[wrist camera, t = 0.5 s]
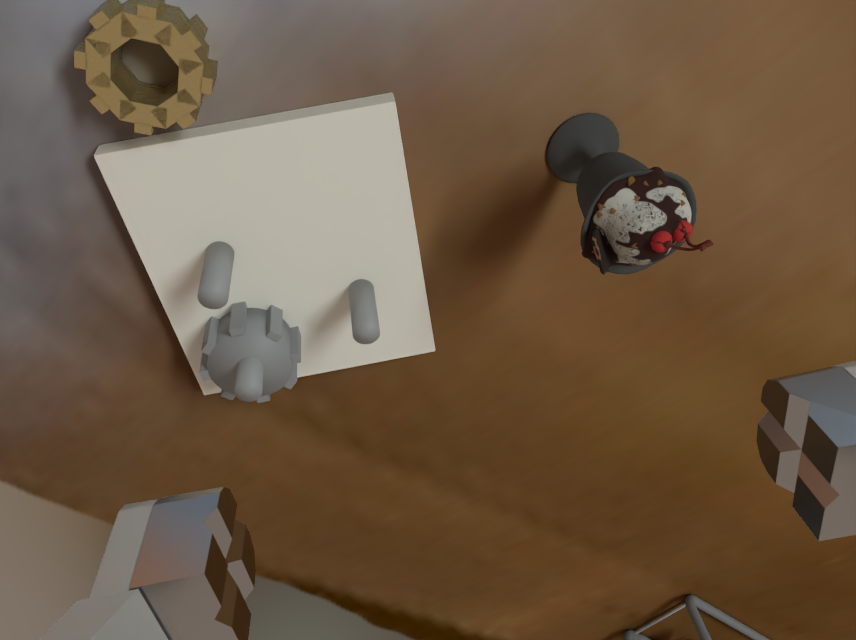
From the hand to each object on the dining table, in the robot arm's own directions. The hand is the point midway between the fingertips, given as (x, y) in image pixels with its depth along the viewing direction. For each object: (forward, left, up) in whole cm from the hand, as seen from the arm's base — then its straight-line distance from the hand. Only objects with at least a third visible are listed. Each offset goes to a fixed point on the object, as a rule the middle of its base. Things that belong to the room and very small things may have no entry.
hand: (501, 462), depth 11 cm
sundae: (+13, +13, -36) cm, 40 cm away
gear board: (+17, -8, -36) cm, 40 cm away
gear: (+3, -12, -36) cm, 38 cm away
